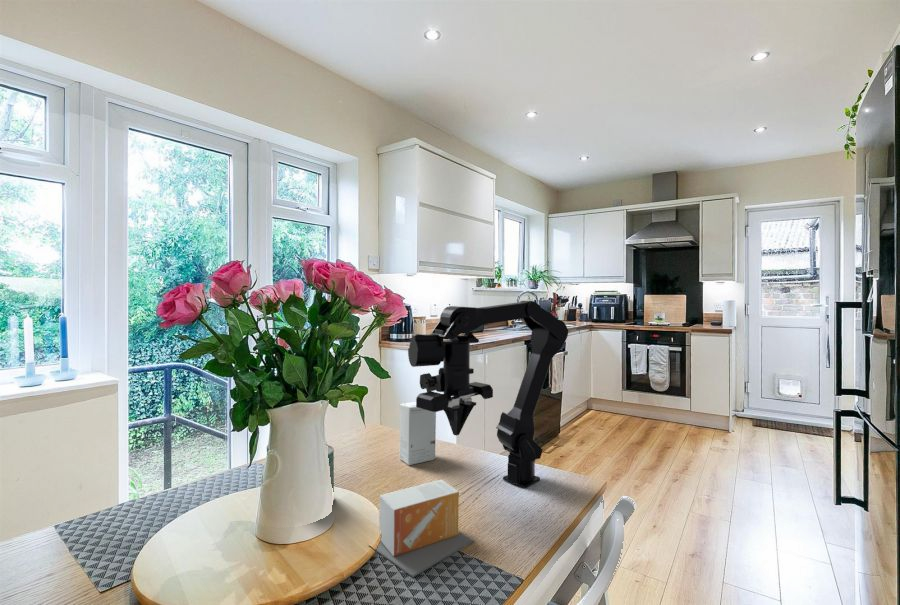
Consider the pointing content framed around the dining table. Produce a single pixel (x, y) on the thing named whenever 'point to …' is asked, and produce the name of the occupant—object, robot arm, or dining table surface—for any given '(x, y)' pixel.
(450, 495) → the small box
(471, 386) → the robot arm
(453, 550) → the mat
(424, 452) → the skincare box
